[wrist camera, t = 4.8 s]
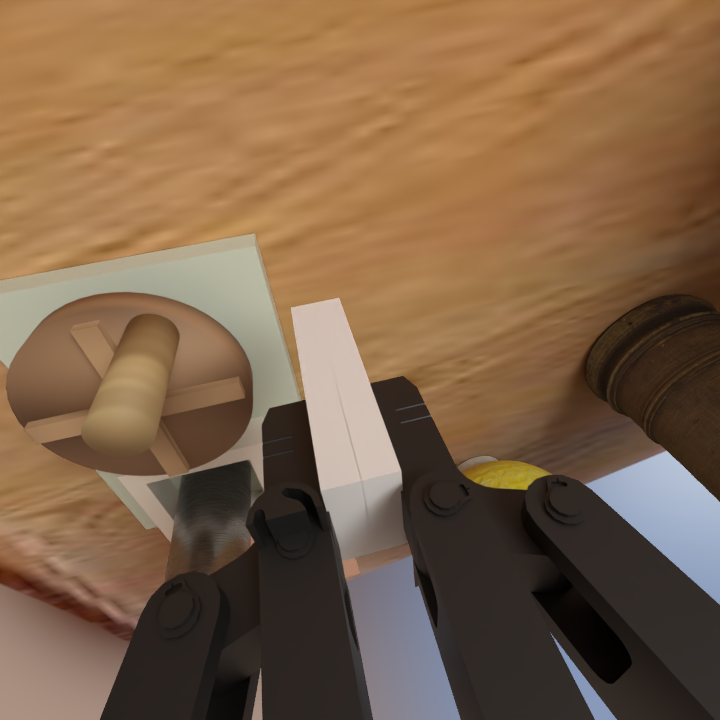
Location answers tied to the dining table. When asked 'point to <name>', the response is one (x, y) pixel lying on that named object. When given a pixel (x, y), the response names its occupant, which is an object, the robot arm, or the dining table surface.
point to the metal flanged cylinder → (210, 519)
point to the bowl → (501, 472)
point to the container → (667, 378)
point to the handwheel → (132, 385)
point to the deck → (195, 288)
